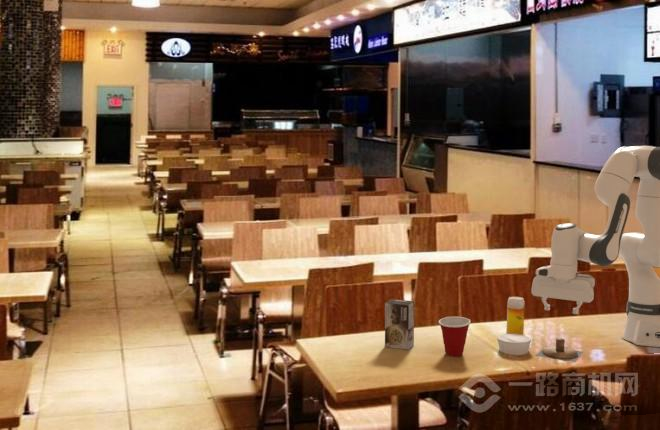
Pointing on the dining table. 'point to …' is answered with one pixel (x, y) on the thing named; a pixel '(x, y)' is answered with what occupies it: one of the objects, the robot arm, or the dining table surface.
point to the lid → (559, 350)
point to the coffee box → (399, 324)
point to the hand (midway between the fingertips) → (561, 311)
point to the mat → (559, 358)
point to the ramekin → (514, 344)
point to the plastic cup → (454, 334)
